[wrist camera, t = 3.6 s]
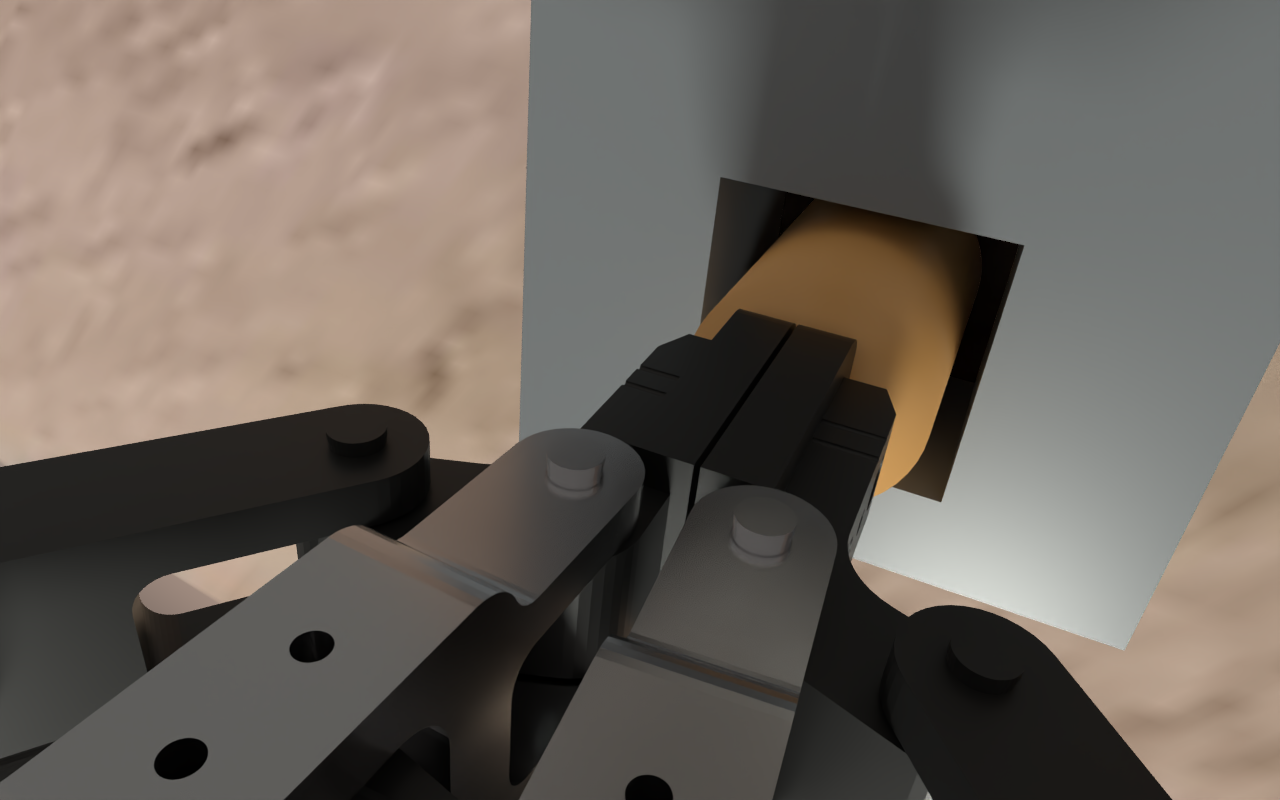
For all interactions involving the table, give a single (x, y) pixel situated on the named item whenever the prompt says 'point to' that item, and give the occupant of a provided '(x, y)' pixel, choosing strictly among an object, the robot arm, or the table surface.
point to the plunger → (872, 305)
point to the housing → (952, 198)
